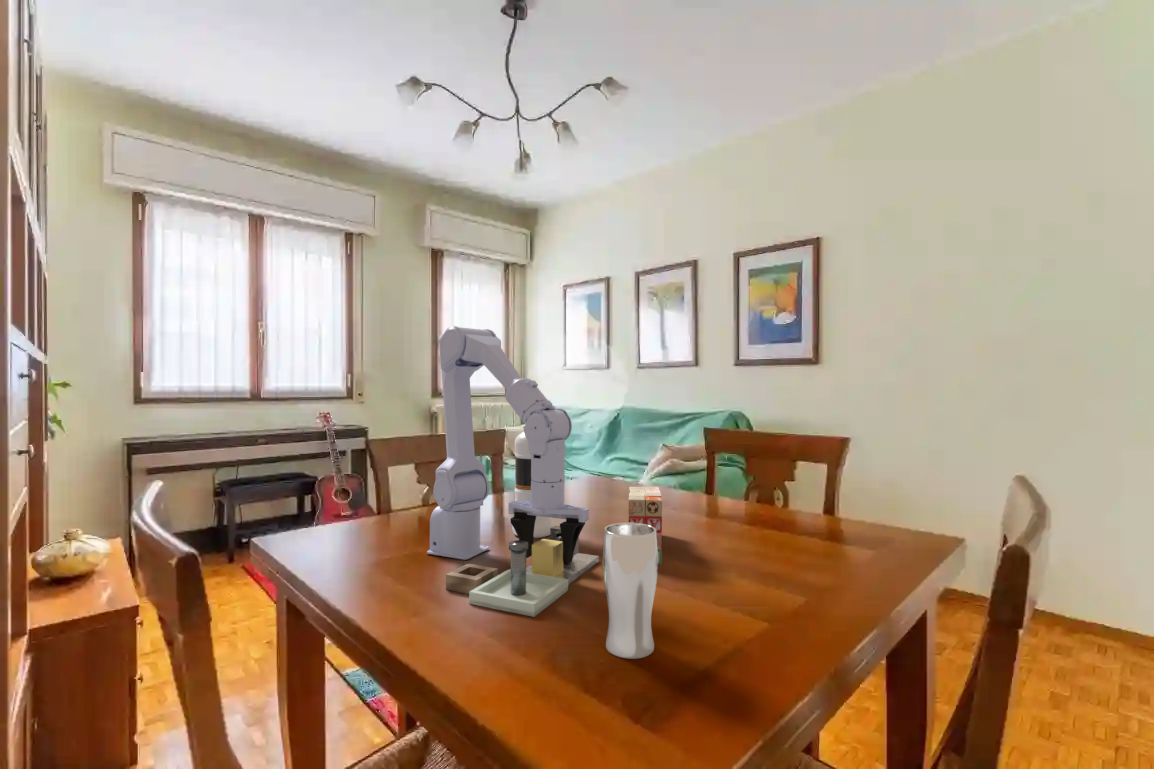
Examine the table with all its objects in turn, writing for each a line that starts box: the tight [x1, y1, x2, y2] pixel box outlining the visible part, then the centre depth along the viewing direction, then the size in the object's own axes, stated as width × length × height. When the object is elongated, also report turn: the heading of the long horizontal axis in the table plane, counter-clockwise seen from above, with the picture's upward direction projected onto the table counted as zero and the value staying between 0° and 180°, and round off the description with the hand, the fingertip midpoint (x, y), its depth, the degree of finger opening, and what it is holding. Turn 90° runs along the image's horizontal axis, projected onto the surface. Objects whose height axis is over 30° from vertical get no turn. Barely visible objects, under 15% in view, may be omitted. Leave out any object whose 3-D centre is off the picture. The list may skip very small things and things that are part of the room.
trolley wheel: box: [526, 525, 600, 585], centre depth 99 cm, size 9×15×7 cm, turn 155°
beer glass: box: [602, 521, 659, 660], centre depth 70 cm, size 7×7×15 cm
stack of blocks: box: [628, 486, 663, 566], centre depth 113 cm, size 21×6×12 cm, turn 174°
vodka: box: [511, 430, 555, 539], centre depth 123 cm, size 9×9×30 cm
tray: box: [468, 568, 569, 618], centre depth 86 cm, size 11×11×2 cm
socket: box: [445, 563, 499, 595], centre depth 91 cm, size 6×6×2 cm
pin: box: [508, 539, 528, 596], centre depth 86 cm, size 3×3×8 cm
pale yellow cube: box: [531, 538, 563, 577], centre depth 95 cm, size 4×4×5 cm
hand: (547, 559), depth 95 cm, fingers open, 7 cm apart
